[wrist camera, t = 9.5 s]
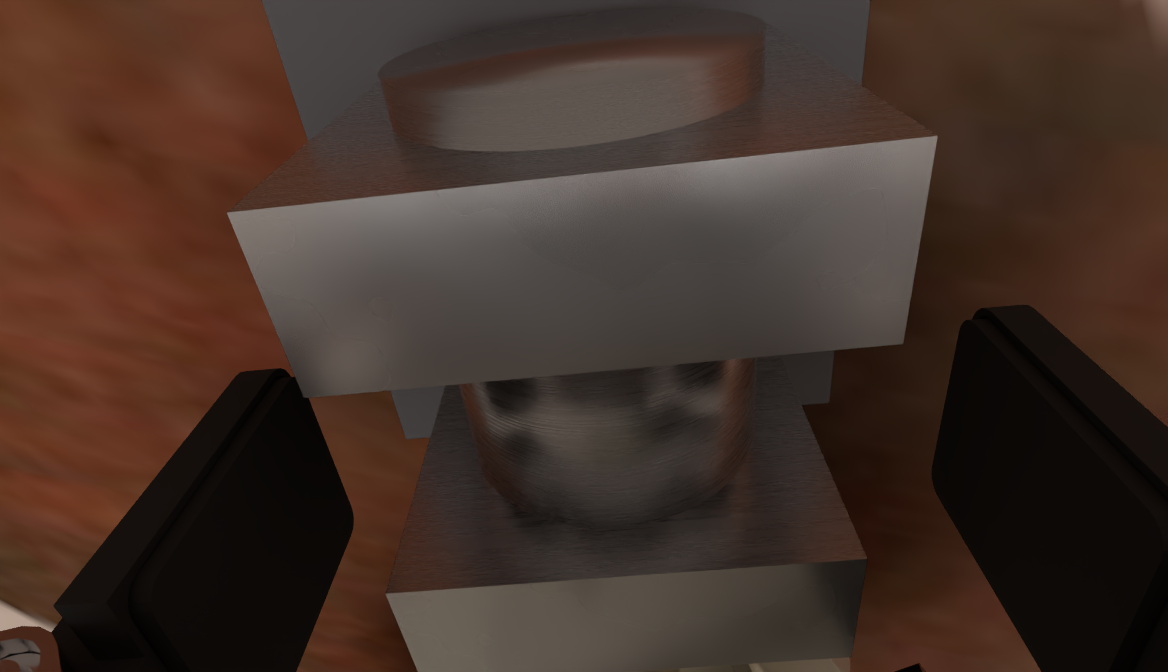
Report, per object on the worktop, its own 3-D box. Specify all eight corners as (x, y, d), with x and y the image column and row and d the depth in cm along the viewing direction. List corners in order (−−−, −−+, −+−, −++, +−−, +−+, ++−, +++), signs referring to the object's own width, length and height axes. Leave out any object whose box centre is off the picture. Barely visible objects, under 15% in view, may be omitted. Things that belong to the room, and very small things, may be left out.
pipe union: (756, 413, 16) (847, 680, 10) (483, 436, 16) (431, 706, 11) (770, -16, 11) (950, 64, 6) (382, 32, 12) (200, 149, 6)
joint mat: (825, 394, 16) (829, 402, 16) (408, 431, 17) (406, 438, 16) (874, -110, 11) (881, -111, 10) (259, -31, 11) (252, -29, 11)
